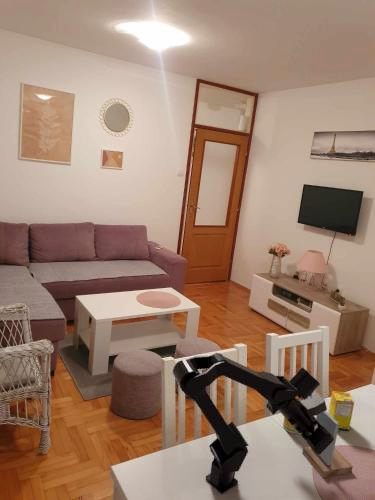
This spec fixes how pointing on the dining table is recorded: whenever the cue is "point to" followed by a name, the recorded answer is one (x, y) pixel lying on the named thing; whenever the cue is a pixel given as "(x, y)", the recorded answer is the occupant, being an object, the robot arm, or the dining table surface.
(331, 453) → the grey rectangular panel
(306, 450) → the ticket block
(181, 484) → the dining table surface
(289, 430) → the supplement bottle
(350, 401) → the supplement box
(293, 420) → the robot arm
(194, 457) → the dining table surface
